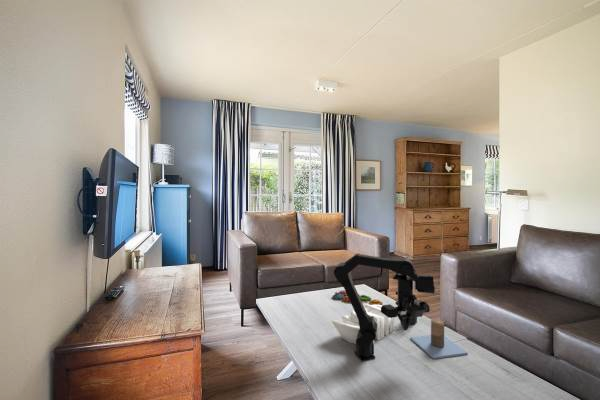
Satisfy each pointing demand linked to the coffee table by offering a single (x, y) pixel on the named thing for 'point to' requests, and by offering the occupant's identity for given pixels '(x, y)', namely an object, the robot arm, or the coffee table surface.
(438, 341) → the walnut pillar
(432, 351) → the blue mat
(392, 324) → the wavy white extrusion
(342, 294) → the gear puzzle
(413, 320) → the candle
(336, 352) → the coffee table surface
